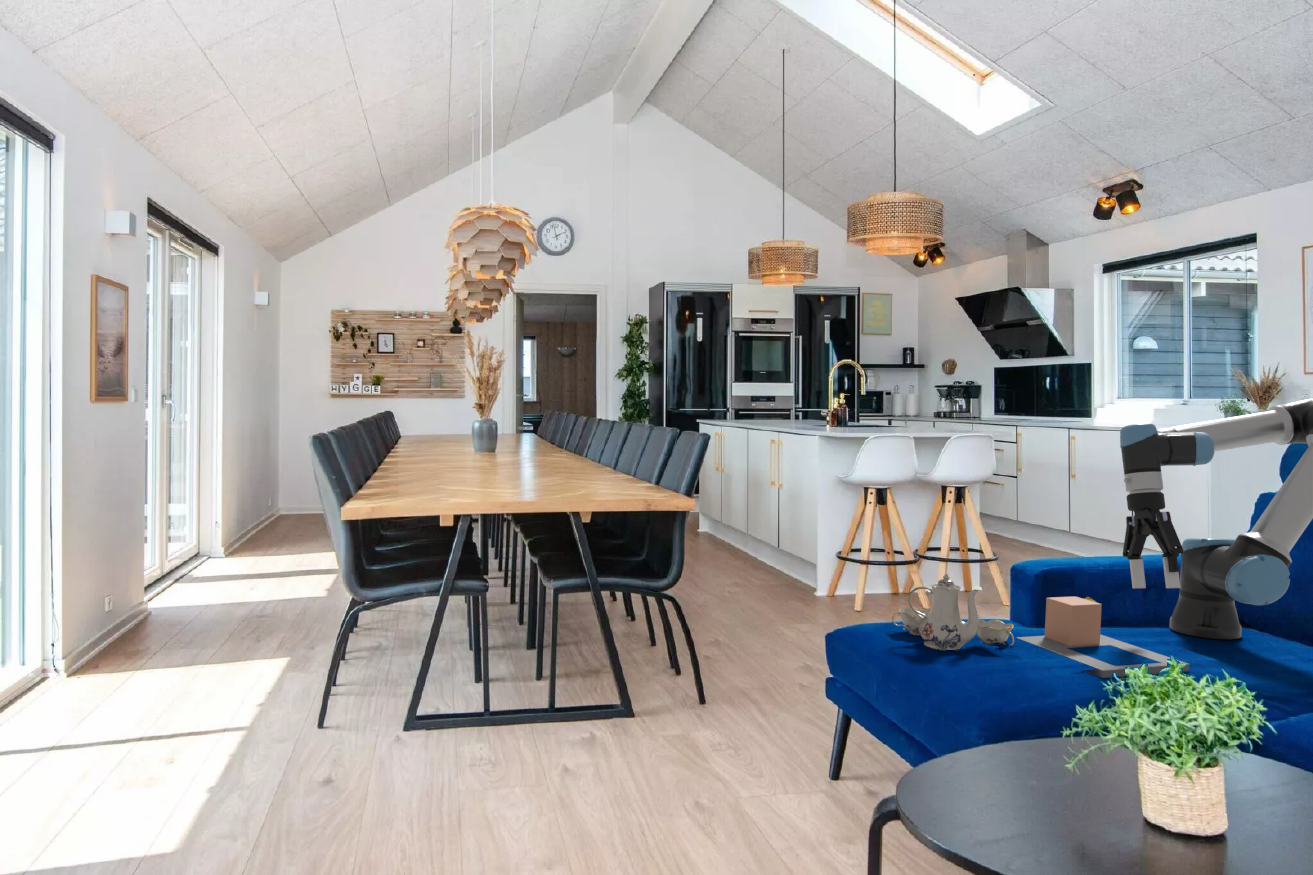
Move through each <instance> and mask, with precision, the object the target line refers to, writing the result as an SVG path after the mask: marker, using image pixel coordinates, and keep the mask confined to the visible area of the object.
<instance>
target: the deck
mask: <svg viewBox="0 0 1313 875" xmlns="http://www.w3.org/2000/svg"><path fill="white" fill-rule="evenodd" d="M1015 638H1017V639H1018V640H1021V641H1023V642H1025V643H1029V644H1031V645H1033V646H1037V647H1039V648H1042V649H1044V650H1047V651H1050V652H1053V653H1055V654H1058V655H1060V656H1063V657H1066V658H1068V659H1071V660H1073V661H1077V662H1079V663H1082V664H1084V665H1086V666H1090V667H1092V668H1094V669H1088V670H1087V669H1085V670H1083V671H1084V672H1086V673H1089V674H1091V673H1092V674H1091V675H1094V676H1097V677H1098V678H1102V679H1105V678H1108V679H1109V678H1113V677H1112V673H1116V674H1117V675H1118V676H1119V677H1126V676H1125V667H1130V668H1139V667H1140V666H1141V665H1142V664H1143V663H1141V664H1129V665H1128V664H1127V665H1113V664H1110V663H1108V662H1105V661H1102V660H1100V659H1097V658H1095V657H1092V656H1089V655H1086V654H1084V653H1082V652H1081V653H1080V652H1077V651H1076V650H1072V649H1073V648H1074V649H1075V648H1086V647H1087V648H1088V647H1101V646H1102V647H1103V646H1105V647H1106V646H1111V647H1114V648H1117V649H1120V650H1122V651H1126V652H1129V653H1132V654H1135V655H1137V656H1140V657H1144V658H1146V659H1149V660H1152V661H1155V663H1152V662H1151V663H1147V664H1148V669H1149V672H1150V673H1152V674H1151V675H1156V674H1157V675H1158V674H1159V675H1160V673H1159V672H1160V671H1161V670H1162V669H1164V668H1167V659H1170V658H1171V657H1169V656H1166V655H1164V654H1160V653H1157V652H1154V651H1152V650H1148V649H1146V648H1142V647H1139V646H1137V645H1134V644H1130V643H1128V642H1124V641H1121V640H1119V639H1115V638H1112V637H1109V636H1107V635H1103V634H1101V633H1100V644H1097V645H1081V646H1068V645H1065V644H1063V643H1060V642H1057V641H1054V640H1052V639H1049V638H1046V637H1045V635H1033V636H1020V637H1019V636H1016V637H1015ZM1176 660H1177V661H1179V662H1180V663H1183V664H1186V666H1185V667H1184V668H1183V673H1184V672H1189V671H1190V669H1189V668H1190V663H1188V662H1185V661H1182V660H1178V659H1176ZM1123 673H1124V674H1123Z"/></svg>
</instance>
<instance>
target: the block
mask: <svg viewBox="0 0 1313 875" xmlns="http://www.w3.org/2000/svg"><path fill="white" fill-rule="evenodd" d="M1045 601H1046V602H1045V605H1046V606H1045V621H1044V622H1045V623H1044V636H1045V637H1046V638H1049V639H1052V640H1054V641H1057V642H1060V643H1063V644H1065V645H1068V646H1081V645H1097V644H1100V634H1101V628H1102V627H1101V624H1102V605H1103V604H1102V603H1099V602H1097V601H1095V602H1093V601H1089V600H1086V599H1085V598H1081V597H1079V596H1055V597H1054V596H1053V597H1052V596H1051V597H1046V599H1045Z"/></svg>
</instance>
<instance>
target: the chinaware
mask: <svg viewBox="0 0 1313 875" xmlns="http://www.w3.org/2000/svg"><path fill="white" fill-rule="evenodd" d="M937 581H938V582H937V583H931V584H930V587H929V586H917V587H915V588H913V589H912V590H911V591H910V592H909V594H908V597H907V602H908V607H906V608H904V609H903V608H898V609H897V612H895V613H894V614H893V615H892V617H891V618H892V619H891V621H892V623H893V624H894V625H895V626H897V627H901V626H902V627H903V628H902V629H903V631H906V630H908V631H909V635H914V636H921V638H922V639H923V640H924V642H923V645H924V646H925V647H927V648H929V647H930V648H929V649H934V650H938V649H939V651H946V650H956V649H960V648H961V647H962V646H963V647H964V645H965V644H967V643H968V642H969V641H971V640H972V639H973V638H974V637H975V636H976V635H977V637H978V639H979V640H980V641H982V642H983V644H984V645H987V646H998V645H997V644H1003V645H1006V643H1005V642H1006V641H1007V640H1008V639H1009V637H1011V639H1012V641H1011V644H1009V646H1013V645H1014V643H1015V637H1014V636H1015V635H1014V634H1013V633H1012V630H1013V628H1014V624H1013V623H1010V622H1009V623H1004V622H1003V621H1002V620H999V619H990V620H987V621H986V620H984V619H980V617H979V614H978V610H977V606H976V600H975V596H976V594H977V593H978V592H979V589H975V588H974V589H972V590H971V591H970V592H969V593H968V594H967V599H966V601H967V602H966V604H967V606H966V607H967V615H968V619H967V621H966V622H965V621H963V620H962V618H961V614H960V609H959V608H960V607H959V596H960V595H959V594H960V591H961V589H962V587H961V586H960V585H957V584H955V582H954V581H953V580H951V579H950V576H949V574H948V573H945V574H944V576H942V579H939V580H937ZM919 590H926V591H925V592H924V594H925V595H926V596H931V595H932V600H931V601H932V603H931V606H930V609H929V608H923V609H920V608H916V607H914V606H913V604H912V596H913V594H914V593H915V592H916V591H919ZM897 614H898V615H897ZM896 615H897V616H900V618H901V619H900V620H901V621H902V622H901V623H902V624H897V623H896V622H895V620H894V617H895V616H896ZM956 651H957V650H956Z"/></svg>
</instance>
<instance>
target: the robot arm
mask: <svg viewBox="0 0 1313 875" xmlns="http://www.w3.org/2000/svg"><path fill="white" fill-rule="evenodd" d="M1119 435H1120V436H1119V441H1120V442H1119V443H1120V444H1119V448H1120V450H1121V460H1122V467H1123V475H1124V479H1123V482H1124V483H1125V484H1124V485H1125V492H1126V493H1129V494H1127V496H1126V504H1127V505H1126V506H1127V510H1128V511H1129V512H1134V514H1133V515H1132V516H1130V515H1128V516H1126V517H1125V520H1126V527H1125V534H1124V535H1125V536H1124V542H1123V547H1122V548H1123V550H1122V556H1123V558H1127V560H1129V568H1130V570H1129V571H1130V578H1131V585H1132V586H1131V587H1132V589H1146V588H1147V587H1146V586H1147V584H1146V576H1145V567H1144V558H1143V556H1142V553H1143V551H1144V547H1145V545H1146V544H1145V543H1146V541H1147V538H1148V537H1150V536H1152V537H1153V538H1154V540H1155V541H1156V544H1157V545H1158V547H1159V549H1160V550H1161V552H1162V555H1161V556H1162V565H1163V566H1162V567H1163V574H1164V583H1165V589H1179V595H1178V599H1177V602H1176V605H1175V606H1174V609H1173V612H1172V615H1171V616H1170V618H1169V626H1168V627H1169V629H1170V630H1172V631H1174V632H1176V633H1180V634H1183V635H1188V636H1193V637H1197V638H1204V639H1210V640H1211V639H1212V640H1237V639H1240V638H1242V632H1243V628H1242V625H1241V623H1240V621H1239V616H1238V612H1237V608H1236V603H1235V601H1236V602H1239V603H1242V604H1248V605H1253V606H1265V605H1270V604H1273V603H1275V602H1276V601H1278V600H1279V599H1282V597H1283V596H1284V595H1285V594H1286V592H1287V590H1288V589H1289V586H1290V582H1291V579H1290V577H1289V576H1290V575H1291V574H1290V570H1289V567H1290V565H1292V562H1293V560H1292V558H1291V556H1290V552H1291V550H1292V549H1293V548H1294V546H1295V545H1296V543H1297V542H1298V540H1299V539H1300V537H1301V536H1302V535H1303V533H1304V531H1305V530H1306V529H1307V527H1308V526H1309V524H1310V523H1311V522H1312V521H1313V397H1310V398H1306V399H1301V400H1296V401H1293V402H1288V403H1284V404H1278V405H1273V406H1271V407H1269V408H1268V409H1267V410H1266V411H1261V412H1255V413H1250V414H1249V413H1248V414H1243V415H1237V416H1231V417H1230V416H1229V417H1226V418H1219V419H1212V420H1206V421H1199V422H1195V423H1188V424H1181V425H1175V426H1171V427H1162V428H1157V426H1156V425H1155V424H1153V423H1147V422H1145V423H1144V422H1143V423H1136V424H1135V423H1133V424H1128V425H1125V426H1123V427H1122V428H1121V429H1120V432H1119ZM1270 443H1275V444H1277V445H1279V446H1284V445H1285V446H1286V445H1290V444H1307V446H1308V448H1306V450H1305V452H1304V453H1303V454H1302V455H1301V458H1300V459H1299V460H1298V462H1297V463H1296V465H1295V466H1294V467H1293V469H1292V471H1291V472H1290V474H1289V475H1288V476H1287V478H1286V479H1285V481H1284V482H1283V484H1282V485H1281V486H1280V488H1279V489H1278V491H1277V493H1275V495H1274V496H1273V498H1272V499H1271V501H1270V502H1269V504H1268V505H1267V507H1266V508H1265V509H1264V511H1263V512H1262V513H1261V515H1260V517H1259V518H1258V519H1257V521H1256V523H1255V524H1254V525H1253V527H1252V528H1251V530H1250V531H1248V532H1245V533H1238V535H1237V537H1236V538H1235V539H1233V538H1232V539H1231V538H1229V539H1228V538H1227V539H1226V538H1204V537H1203V538H1202V537H1201V538H1197V537H1195V538H1193V537H1188V538H1185V539H1184V540H1183V542H1182V543H1181V541H1180V538H1179V535H1178V533H1177V532H1176V529H1175V527H1174V524H1173V522H1172V517H1171V512H1170V511H1161V510H1165V508H1166V502H1165V500H1166V499H1165V494H1164V493H1163V492H1162V491H1163V490H1164V482H1163V476H1162V467H1165V466H1167V467H1168V466H1170V467H1171V466H1172V467H1173V466H1193V467H1195V466H1202V465H1203V466H1204V465H1207V464H1209V463H1210V462H1211V461H1212V460H1213V458H1214V455H1215V452H1221V451H1227V450H1233V449H1238V448H1244V447H1251V446H1259V445H1263V444H1270ZM1179 555H1180V571H1179V562H1178V557H1179Z"/></svg>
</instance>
